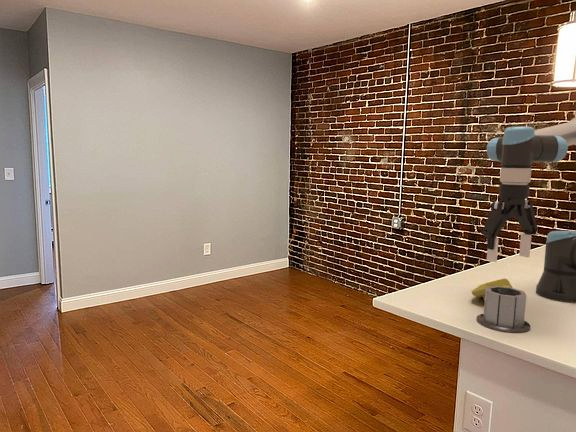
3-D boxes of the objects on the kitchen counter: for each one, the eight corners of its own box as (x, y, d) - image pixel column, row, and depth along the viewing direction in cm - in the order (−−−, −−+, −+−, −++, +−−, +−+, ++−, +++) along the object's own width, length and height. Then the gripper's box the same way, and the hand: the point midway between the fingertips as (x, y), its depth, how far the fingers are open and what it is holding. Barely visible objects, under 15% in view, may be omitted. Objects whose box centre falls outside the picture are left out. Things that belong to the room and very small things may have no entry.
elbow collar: (530, 325, 123) (533, 294, 122) (506, 330, 119) (509, 298, 118) (499, 313, 132) (502, 284, 131) (476, 318, 128) (478, 288, 127)
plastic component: (481, 284, 157) (510, 276, 152) (489, 304, 156) (518, 297, 150) (467, 293, 141) (498, 285, 136) (475, 315, 140) (508, 308, 134)
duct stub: (511, 314, 133) (512, 296, 133) (541, 332, 119) (543, 313, 119) (467, 315, 132) (468, 297, 131) (493, 333, 118) (494, 314, 117)
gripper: (531, 182, 130) (525, 252, 133) (471, 183, 119) (466, 259, 122) (556, 183, 123) (549, 257, 126) (494, 185, 112) (488, 265, 115)
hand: (508, 258), depth 124 cm, fingers open, 13 cm apart
